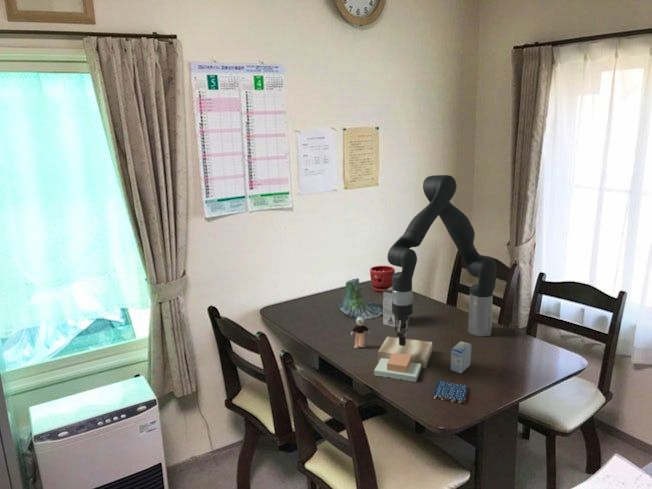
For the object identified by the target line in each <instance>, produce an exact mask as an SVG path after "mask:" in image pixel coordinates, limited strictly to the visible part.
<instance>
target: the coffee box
mask: <svg viewBox="0 0 652 489" xmlns="http://www.w3.org/2000/svg"><path fill="white" fill-rule="evenodd" d="M382 309H383V315H382V317H383V318H382V321H383V322H382V324H383V325H385V326H390V327H393V328H395V327H397V324H396V319H397V318H398V317H397V316H396V315H394V314H393V313H392V286H391V287H389V288H387V289H385V290H383V292H382Z"/></svg>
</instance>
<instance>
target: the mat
mask: <svg viewBox="0 0 652 489" xmlns="http://www.w3.org/2000/svg"><path fill="white" fill-rule="evenodd" d="M388 361H389V359H385V358H381V359H380V361H378V363H377V365H376V366H375V368H374V370H373V375H375V377H376V376H377V377H381V376H382V377H383V378H387V377H390V378H389V379H394V378H395V379H394V380H400V379H402V381H406V380H407V381H408V382H412V383H413V382H414V383H416V382H417V380H418V378H419V375H420V373H421V370H422V367H421V364H420V363H413V362H411V364H410V366H409V368H408V371H407V373H404V372H397V371H390V370H387V363H388Z"/></svg>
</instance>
